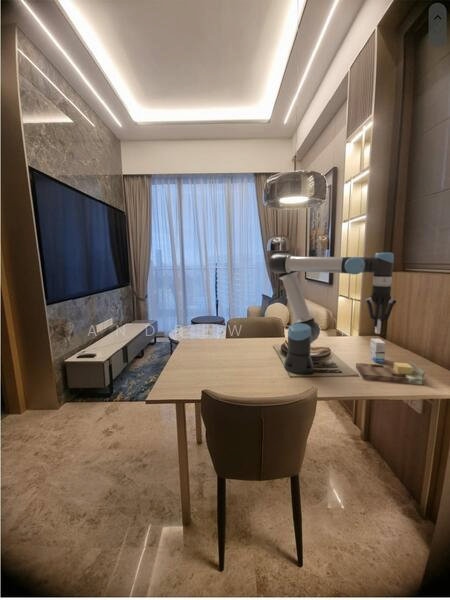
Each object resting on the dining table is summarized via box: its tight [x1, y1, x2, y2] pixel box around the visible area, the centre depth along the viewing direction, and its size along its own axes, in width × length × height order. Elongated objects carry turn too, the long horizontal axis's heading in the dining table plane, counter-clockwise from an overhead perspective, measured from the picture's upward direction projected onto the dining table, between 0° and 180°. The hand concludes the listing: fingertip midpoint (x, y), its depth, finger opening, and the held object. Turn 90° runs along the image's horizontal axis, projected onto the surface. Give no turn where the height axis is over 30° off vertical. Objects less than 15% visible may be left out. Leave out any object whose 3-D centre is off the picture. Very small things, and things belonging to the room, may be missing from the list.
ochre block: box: [393, 361, 413, 375], centre depth 121 cm, size 6×5×4 cm
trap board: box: [355, 360, 425, 386], centre depth 122 cm, size 25×14×6 cm, turn 75°
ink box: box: [369, 338, 386, 364], centre depth 141 cm, size 9×5×12 cm, turn 168°
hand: (377, 332), depth 121 cm, fingers closed
